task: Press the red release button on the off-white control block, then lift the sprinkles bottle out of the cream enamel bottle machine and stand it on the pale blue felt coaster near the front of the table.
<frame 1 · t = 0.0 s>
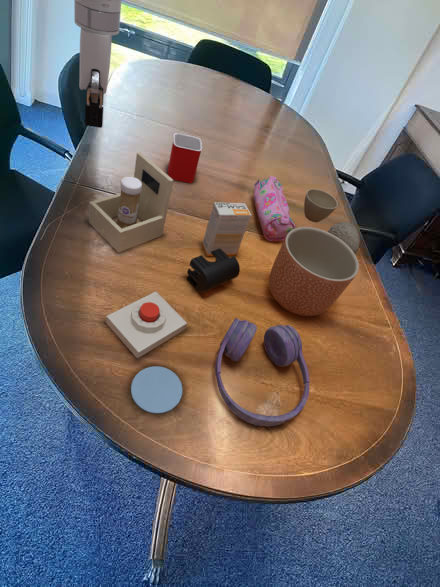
hand: (94, 114, 79), 24 cm above the table, tool pointing down, fingers open, 9 cm apart
supplement box: (218, 250, 98), on the table
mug: (180, 171, 119), on the table
coaster: (156, 389, 68), on the table
headphones: (256, 379, 75), on the table
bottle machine: (126, 229, 94), on the table
release button: (149, 312, 73), point 4 cm above the table, slide at 0.1 cm
pencil case: (267, 220, 113), on the table
flower pot: (311, 217, 121), on the table
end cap: (209, 282, 90), on the table
button block: (146, 326, 76), on the table
decorative stone: (332, 254, 111), on the table
sprinkles bottle: (126, 229, 94), resting in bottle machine
planter: (294, 298, 94), on the table
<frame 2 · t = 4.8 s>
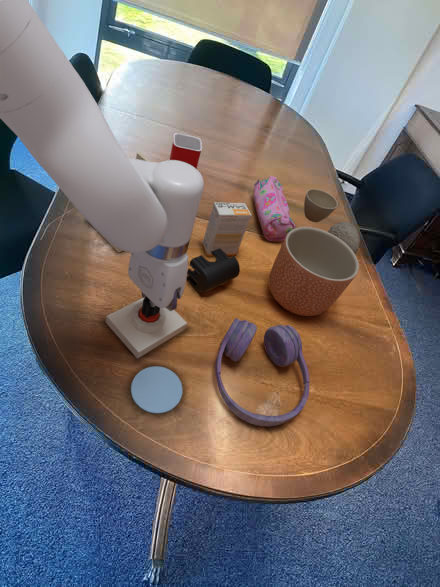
hand: (150, 312, 73), 4 cm above the table, tool pointing down, fingers closed
release button: (148, 315, 74), point 3 cm above the table, slide at -0.9 cm, touching gripper
everything else where it was.
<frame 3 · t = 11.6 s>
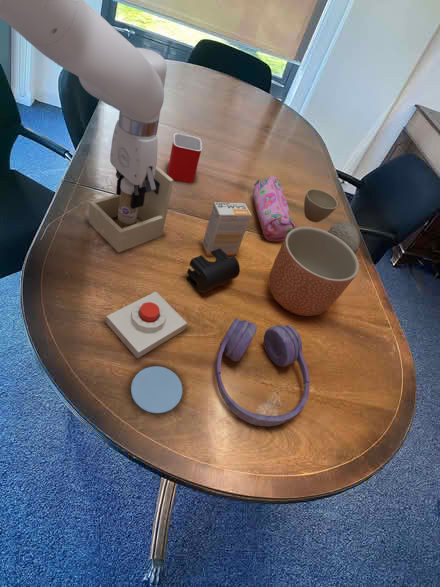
hand: (129, 199, 88), 9 cm above the table, tool pointing down, fingers closed on sprinkles bottle, 4 cm apart
release button: (149, 312, 73), point 4 cm above the table, slide at 0.1 cm
sprinkles bottle: (126, 229, 94), resting in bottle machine, touching gripper
everything else where it was.
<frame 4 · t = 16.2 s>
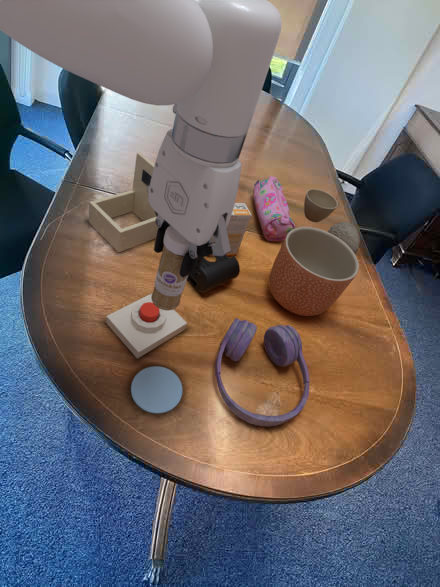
hand: (176, 259, 53), 26 cm above the table, tool pointing down, fingers closed on sprinkles bottle, 4 cm apart
sprinkles bottle: (165, 301, 59), point 17 cm above the table, touching gripper
everything else where it was.
when the fingers open (9 cm above the table, at t = 21.0 s): sprinkles bottle stays where it is, resting on coaster.
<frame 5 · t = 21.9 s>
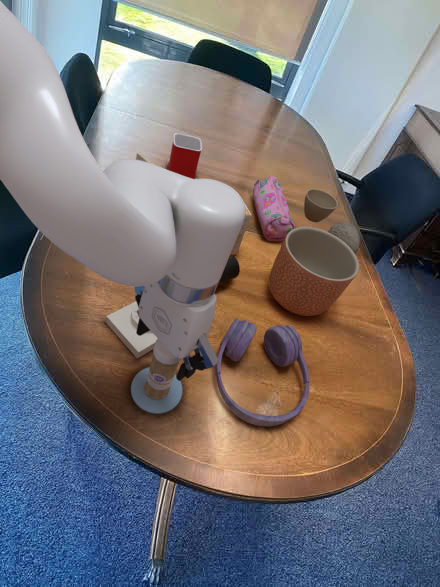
hand: (164, 352, 60), 12 cm above the table, tool pointing down, fingers open, 9 cm apart
sprinkles bottle: (156, 388, 68), resting on coaster
everything else where it was.
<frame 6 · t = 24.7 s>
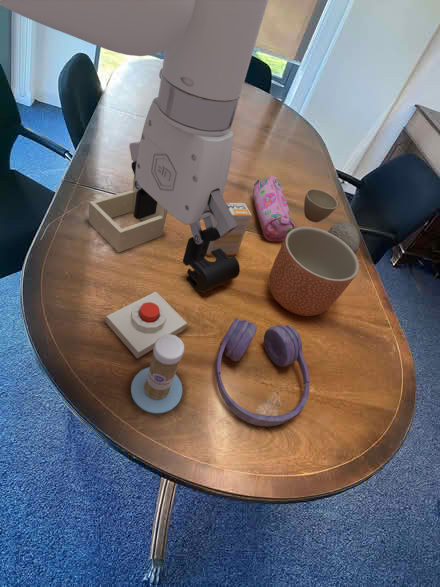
hand: (168, 237, 49), 30 cm above the table, tool pointing down, fingers open, 9 cm apart
nothing on the table moved.
at the end: release button pushed in 1.1 cm at the most during the clip, back to where it started at the end; sprinkles bottle 0.0 cm off-centre on the coaster, point 0.2 cm above the coaster's base; sprinkles bottle tilted 0° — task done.
